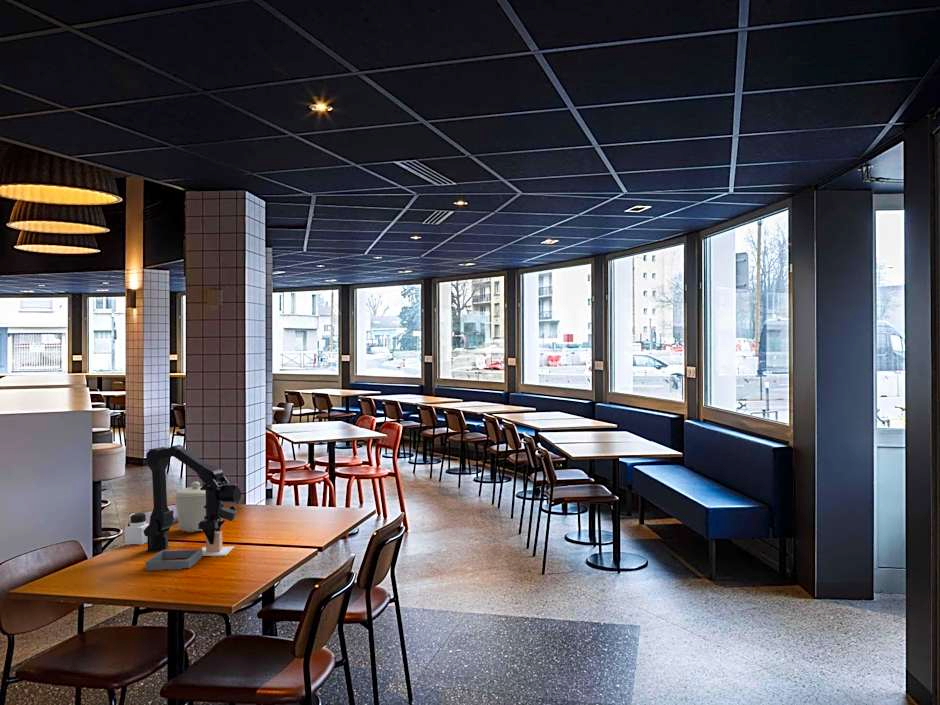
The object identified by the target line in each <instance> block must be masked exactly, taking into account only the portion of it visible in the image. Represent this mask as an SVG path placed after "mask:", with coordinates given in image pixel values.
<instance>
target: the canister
mask: <svg viewBox="0 0 940 705" xmlns="http://www.w3.org/2000/svg"><path fill="white" fill-rule="evenodd" d="M190 486H191V487H185V488H180V489H178V490H177V491H176V492H174V493H173V494H172V495H173V497H174V498H175V499H174V500H175V506H176V515H177V520H178V527H179V529H180V530H181V532H184V531H187V532H186V533H195V532H194V531H201V532H203V530H202V529H198V524H199V523H200V522H201V521H202V520H203V519H204V516H206V508H204V506H205V505H206V495H205V490H200V488H201V487H202V486H201V483H200V482H199V481H193V482H192V483H191V484H190Z"/></svg>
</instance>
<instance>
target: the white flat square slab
mask: <svg viewBox="0 0 940 705" xmlns="http://www.w3.org/2000/svg"><path fill="white" fill-rule="evenodd" d="M233 548H234V549H235V545H232V546H231V545H229V546H224V545H223V546H222V550H221V551H220V552H206V546H202V548H201V549H202V556H212V557H226V556H227V554H228V553H229V552H230V551H231V550H232V549H233ZM234 549H233V550H234ZM233 550H232V551H233ZM232 551H231V552H232ZM231 552H230V553H231ZM230 553H229V554H230Z"/></svg>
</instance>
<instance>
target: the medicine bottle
mask: <svg viewBox="0 0 940 705" xmlns="http://www.w3.org/2000/svg"><path fill="white" fill-rule="evenodd" d="M128 518H129V526H125V527H124V545H125V546H130V545H129V544H139V545H138V546H143V545H144V543H145V544H148V543H147V536H145V535H144V532H143V531H144V530H145V529H146V528H147V526H148V525H149V524H150V523H147V515H146V513H144V512H135V513H134V512H133V513H131V514H130V515H129V517H128ZM126 544H127V545H126ZM142 544H143V545H142Z"/></svg>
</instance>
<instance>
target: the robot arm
mask: <svg viewBox="0 0 940 705" xmlns="http://www.w3.org/2000/svg"><path fill="white" fill-rule="evenodd" d="M145 457H146V464H147V466H148V468H149V469H150V471H151V476H152V479H151V480H152V483H151V484H152V502H153V509H152V511H151V514H150V515H149V523H148V524H149V525H148V526H147V528H146V529H145V530H144V531H143V532H144V535H145V536H147V543H146V544H147V549H146V550H145V552H160V551H163V550H167V548H169V536H167V533H169V531H170V529H171V527H172V525H173V524H174V521H175V518H174V510H173V509H172V510H170V509H169V507H168V497H167V495H168V493H167V475H166V474H167V471H166V470H167V467H168V466H169V463H170V458H171V457H173V458H175V459H177V460H178V461H179V462H181V463H182V464H184V465H185V466H186V467H188V468H189V469H191V470H192V471H194V472H195V473H196V474H197V476H198V478H199V479H200V481H201V482H203V485H202V486H200V487H201V488H200V490H205V495H206V505H205V506H204V508H206V516H204V519H203V520H202V521H201V522H200V523H199V524H198V529H202V530H203V531H202V532H203V533H204V535H205V538H206V537H207V539H208V541H209V543H210V544H214V538H215V531H221V528H222V526H223V525H224V524H225V523H226V522H227V521H230V522H234V520H235V519H236V516H237V515H238V510H237V507H236V505H231V506H230V507H225V506H224V505H225V504H224V503H239V501H240V500H241V498H242V491H241V489H240V487H239V484H238V483H234V484H230V482H229V480H228V479H227V478H226V476H225V475H224V471H223V470H222V469H221V468H220V467H219V466H218V467H217V466H215V465H212V464H209V463H206V462H204V461H203V460H202V459H200V458H199V457H197V456H196V455H195V454H193V453H192V452H190V451H189V450H187V449H186V448H185V447H184V446H183V445H181V444H177V445H172V446H170V447H164V446H161V447H160V446H159V447H155V448H151V449H149V450H148V451H147V452H146V455H145ZM223 519H225V520H223Z"/></svg>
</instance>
